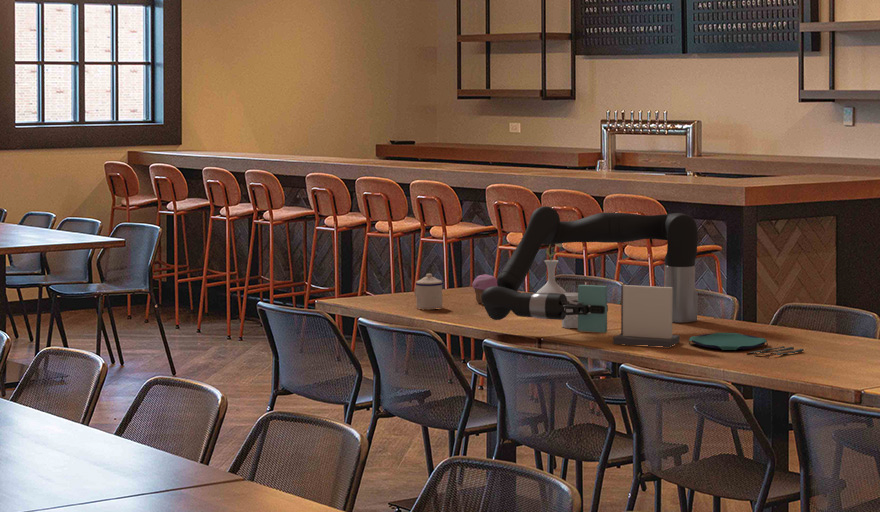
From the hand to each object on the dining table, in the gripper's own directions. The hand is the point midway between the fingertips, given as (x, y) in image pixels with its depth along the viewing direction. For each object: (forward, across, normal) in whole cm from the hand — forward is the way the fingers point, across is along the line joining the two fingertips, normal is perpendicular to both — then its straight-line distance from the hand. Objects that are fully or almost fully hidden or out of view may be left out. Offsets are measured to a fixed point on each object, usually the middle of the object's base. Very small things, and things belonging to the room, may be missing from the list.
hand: (605, 309), depth 350 cm
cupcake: (-61, +56, +9) cm, 84 cm away
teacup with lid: (-75, +38, +9) cm, 85 cm away
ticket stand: (+12, 0, +9) cm, 15 cm away
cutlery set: (+38, +3, +10) cm, 39 cm away
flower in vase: (-43, +72, +9) cm, 84 cm away
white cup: (-17, +19, +9) cm, 27 cm away
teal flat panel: (-4, 0, +7) cm, 8 cm away
